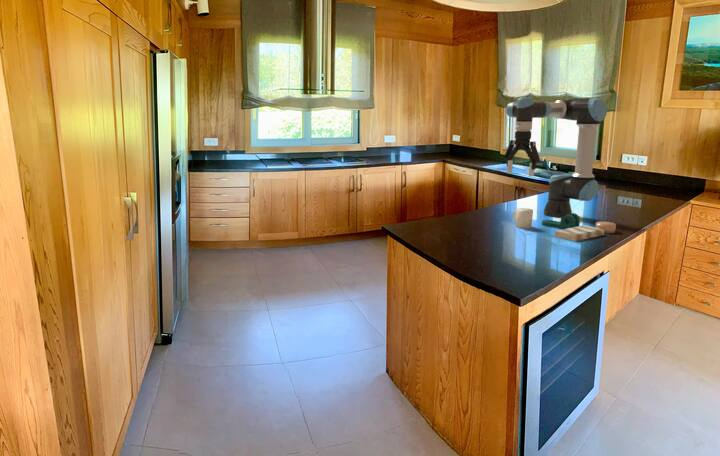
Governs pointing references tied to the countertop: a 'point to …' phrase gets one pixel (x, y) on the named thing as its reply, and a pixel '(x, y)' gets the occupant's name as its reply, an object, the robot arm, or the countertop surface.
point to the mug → (523, 218)
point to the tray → (579, 233)
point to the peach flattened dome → (606, 226)
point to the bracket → (563, 222)
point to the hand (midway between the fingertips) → (520, 174)
